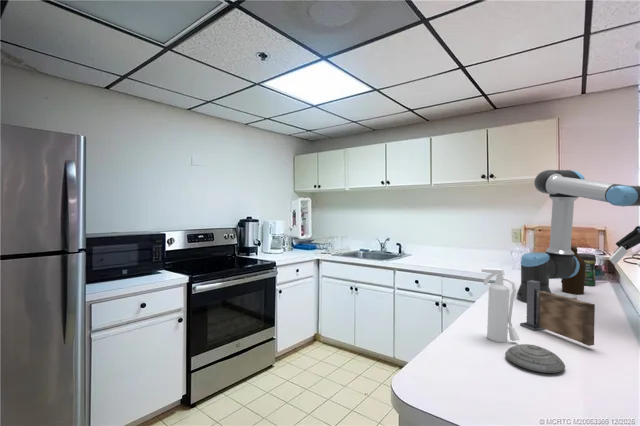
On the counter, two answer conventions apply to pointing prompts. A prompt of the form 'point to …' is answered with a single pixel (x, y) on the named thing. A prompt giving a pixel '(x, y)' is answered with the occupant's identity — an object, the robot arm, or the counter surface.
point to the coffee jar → (589, 268)
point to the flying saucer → (535, 358)
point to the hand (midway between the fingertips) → (625, 264)
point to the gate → (566, 317)
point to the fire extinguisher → (499, 307)
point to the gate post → (532, 306)
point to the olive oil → (575, 277)
